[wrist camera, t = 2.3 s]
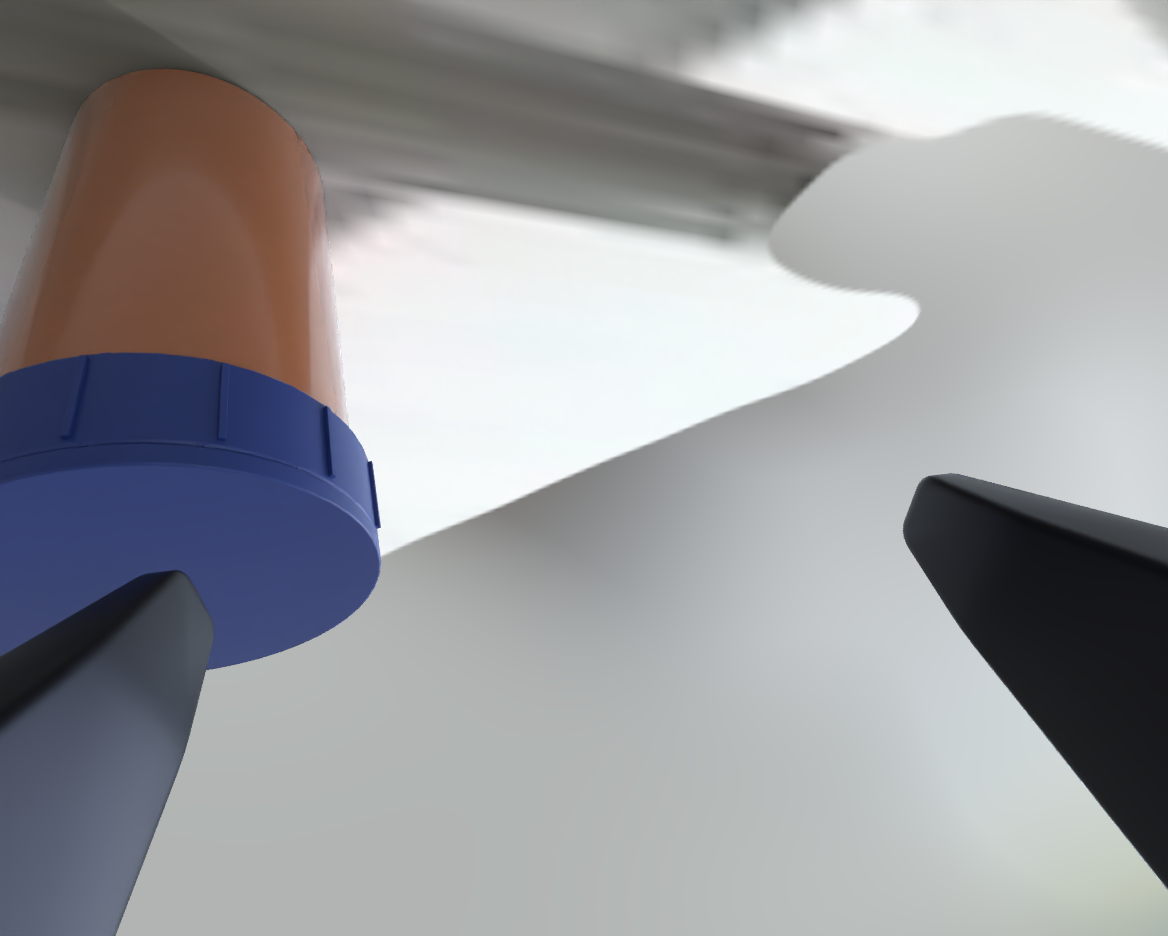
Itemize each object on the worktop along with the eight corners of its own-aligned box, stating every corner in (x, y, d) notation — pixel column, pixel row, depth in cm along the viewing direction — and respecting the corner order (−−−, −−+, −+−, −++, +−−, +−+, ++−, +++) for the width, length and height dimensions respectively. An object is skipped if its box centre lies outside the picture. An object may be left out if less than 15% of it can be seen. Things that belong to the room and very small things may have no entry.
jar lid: (-2, 594, 13) (-31, 701, 12) (-162, 330, 8) (-240, 465, 7) (354, 567, 16) (362, 651, 15) (389, 365, 12) (406, 463, 10)
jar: (94, 264, 19) (-6, 667, 12) (41, 34, 15) (-167, 450, 8) (319, 289, 22) (347, 627, 15) (331, 102, 18) (379, 452, 11)
